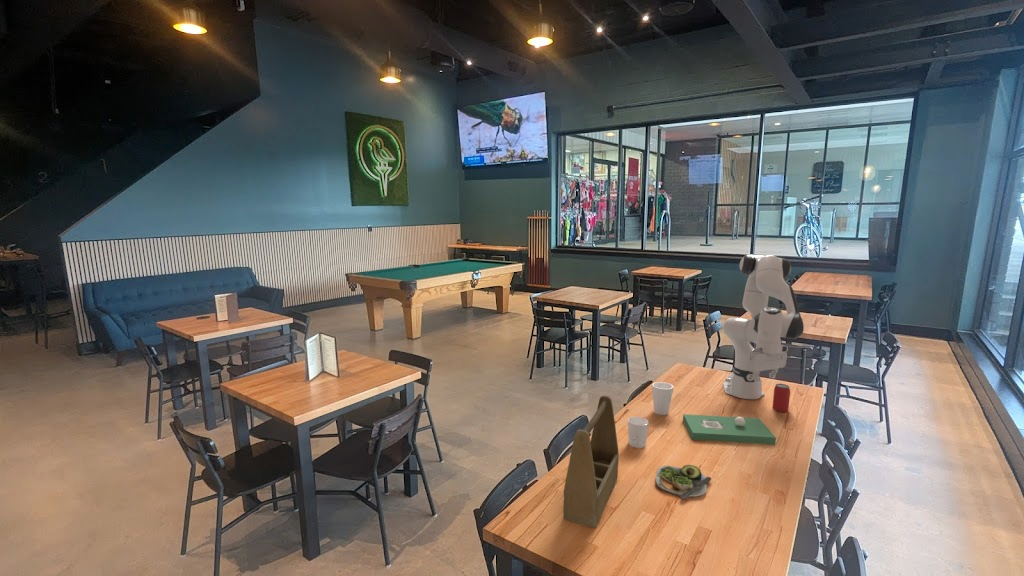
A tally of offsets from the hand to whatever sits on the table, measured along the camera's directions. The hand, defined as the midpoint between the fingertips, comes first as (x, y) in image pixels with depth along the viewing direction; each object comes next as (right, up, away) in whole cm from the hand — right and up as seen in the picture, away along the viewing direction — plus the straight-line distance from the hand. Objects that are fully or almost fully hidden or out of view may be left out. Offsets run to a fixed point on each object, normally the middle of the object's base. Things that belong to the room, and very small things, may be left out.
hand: (764, 379), depth 196 cm
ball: (-9, -18, +3) cm, 20 cm away
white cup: (-54, -25, -6) cm, 60 cm away
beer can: (+22, -20, +27) cm, 40 cm away
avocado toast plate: (-46, -30, -33) cm, 64 cm away
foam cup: (-35, -20, +24) cm, 47 cm away
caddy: (-79, -31, -42) cm, 94 cm away
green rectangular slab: (-14, -23, +4) cm, 27 cm away
